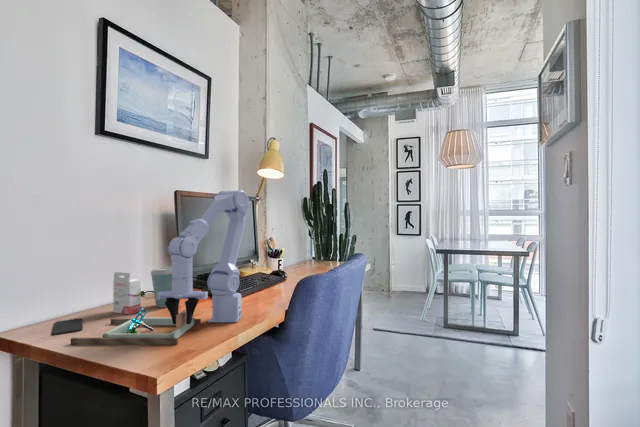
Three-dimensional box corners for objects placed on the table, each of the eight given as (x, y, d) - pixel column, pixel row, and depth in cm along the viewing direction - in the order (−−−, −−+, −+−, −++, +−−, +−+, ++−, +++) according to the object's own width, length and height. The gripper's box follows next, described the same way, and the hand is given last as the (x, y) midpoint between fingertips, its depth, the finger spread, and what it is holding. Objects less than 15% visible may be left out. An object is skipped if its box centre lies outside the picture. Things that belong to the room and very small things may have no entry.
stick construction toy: (128, 321, 108) (142, 302, 107) (148, 331, 110) (163, 313, 109) (115, 345, 97) (131, 324, 96) (138, 356, 99) (154, 336, 98)
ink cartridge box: (141, 311, 127) (141, 271, 127) (129, 315, 123) (129, 273, 123) (124, 309, 130) (124, 269, 131) (112, 312, 126) (112, 271, 126)
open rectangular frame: (194, 324, 111) (194, 305, 111) (172, 342, 95) (172, 320, 95) (134, 324, 111) (134, 305, 111) (102, 342, 95) (102, 320, 95)
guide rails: (200, 323, 112) (200, 318, 112) (176, 344, 94) (176, 338, 94) (112, 323, 113) (112, 318, 113) (70, 344, 94) (70, 338, 94)
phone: (82, 317, 118) (82, 329, 106) (82, 320, 118) (82, 331, 106) (54, 321, 114) (51, 334, 101) (54, 324, 114) (51, 336, 101)
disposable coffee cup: (149, 310, 128) (149, 269, 129) (151, 303, 138) (151, 266, 138) (180, 307, 133) (180, 268, 133) (179, 301, 142) (179, 264, 143)
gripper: (151, 280, 99) (151, 327, 99) (201, 280, 99) (201, 327, 99) (163, 275, 106) (162, 320, 106) (210, 275, 106) (210, 320, 106)
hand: (182, 323), depth 103 cm, fingers open, 3 cm apart
